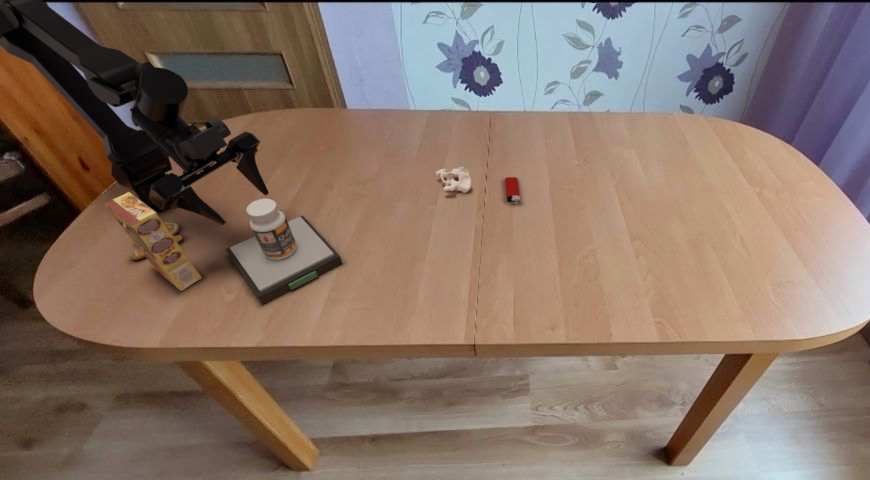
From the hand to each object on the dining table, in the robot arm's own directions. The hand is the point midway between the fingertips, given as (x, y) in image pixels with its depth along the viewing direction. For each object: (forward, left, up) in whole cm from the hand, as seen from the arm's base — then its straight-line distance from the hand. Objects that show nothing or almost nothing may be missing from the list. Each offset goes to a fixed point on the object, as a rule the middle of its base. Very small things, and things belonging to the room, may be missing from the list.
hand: (246, 208), depth 80 cm
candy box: (-14, +5, -11) cm, 18 cm away
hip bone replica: (+40, -6, -11) cm, 41 cm away
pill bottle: (+2, -4, -8) cm, 9 cm away
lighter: (+48, -16, -11) cm, 51 cm away
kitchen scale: (+2, -4, -10) cm, 11 cm away
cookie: (-14, +16, -10) cm, 24 cm away
